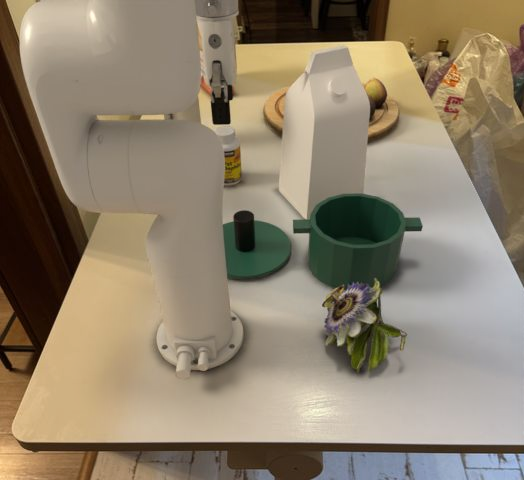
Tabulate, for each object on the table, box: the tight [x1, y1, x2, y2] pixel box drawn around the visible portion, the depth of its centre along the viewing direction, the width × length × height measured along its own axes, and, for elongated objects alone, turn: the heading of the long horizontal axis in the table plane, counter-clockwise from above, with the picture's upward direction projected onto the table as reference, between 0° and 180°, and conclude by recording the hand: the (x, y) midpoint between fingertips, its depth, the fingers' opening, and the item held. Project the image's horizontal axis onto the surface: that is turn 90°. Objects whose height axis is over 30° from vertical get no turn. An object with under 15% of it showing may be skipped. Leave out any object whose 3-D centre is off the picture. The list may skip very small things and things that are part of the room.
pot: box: [292, 193, 424, 290], centre depth 83 cm, size 15×20×8 cm
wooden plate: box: [263, 76, 401, 143], centre depth 120 cm, size 32×32×8 cm
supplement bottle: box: [213, 125, 243, 187], centre depth 101 cm, size 6×6×10 cm
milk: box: [278, 44, 370, 219], centre depth 90 cm, size 12×12×26 cm
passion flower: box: [321, 278, 408, 373], centre depth 72 cm, size 11×11×12 cm
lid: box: [223, 209, 292, 279], centre depth 86 cm, size 16×16×7 cm
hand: (223, 111), depth 95 cm, fingers open, 9 cm apart
